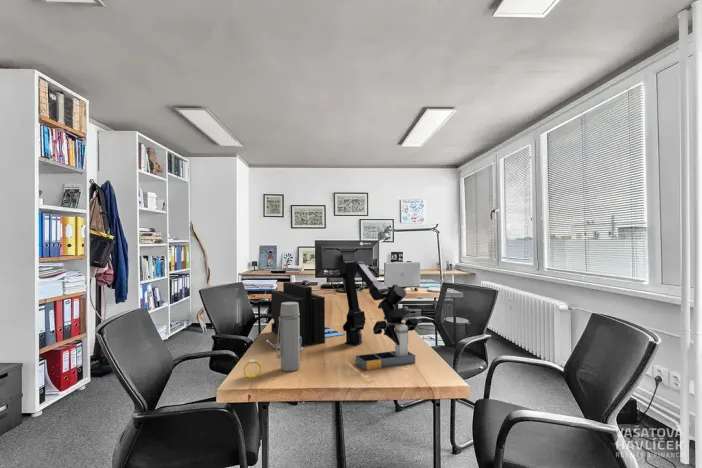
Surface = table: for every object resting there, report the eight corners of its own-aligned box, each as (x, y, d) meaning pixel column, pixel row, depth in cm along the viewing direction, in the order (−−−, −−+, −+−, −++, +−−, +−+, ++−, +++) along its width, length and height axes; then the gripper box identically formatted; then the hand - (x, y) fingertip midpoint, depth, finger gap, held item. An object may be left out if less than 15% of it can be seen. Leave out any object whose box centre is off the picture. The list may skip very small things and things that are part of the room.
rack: (364, 371, 143) (364, 362, 144) (355, 364, 151) (355, 355, 152) (415, 364, 151) (415, 355, 152) (405, 358, 159) (404, 349, 160)
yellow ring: (260, 375, 141) (261, 359, 141) (260, 378, 138) (261, 361, 139) (243, 376, 139) (244, 359, 140) (243, 378, 137) (244, 361, 137)
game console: (271, 332, 207) (271, 282, 208) (322, 325, 223) (321, 279, 223) (296, 347, 177) (296, 289, 178) (353, 338, 192) (352, 284, 193)
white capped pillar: (395, 359, 155) (394, 325, 156) (403, 358, 157) (402, 324, 157) (400, 362, 152) (399, 327, 152) (408, 361, 153) (407, 326, 153)
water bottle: (294, 364, 152) (294, 301, 153) (303, 370, 146) (303, 303, 146) (272, 368, 147) (272, 303, 148) (280, 374, 141) (280, 306, 141)
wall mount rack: (307, 347, 175) (307, 334, 175) (289, 357, 163) (289, 343, 163) (280, 343, 183) (279, 331, 182) (261, 352, 171) (260, 339, 170)
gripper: (375, 301, 155) (388, 335, 144) (416, 298, 162) (431, 330, 151) (367, 317, 162) (379, 350, 152) (407, 314, 169) (420, 345, 158)
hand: (403, 344), depth 153 cm, fingers closed on white capped pillar, 3 cm apart
